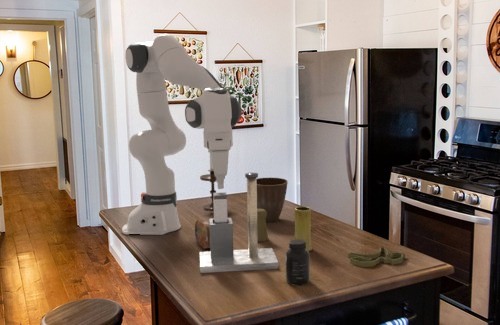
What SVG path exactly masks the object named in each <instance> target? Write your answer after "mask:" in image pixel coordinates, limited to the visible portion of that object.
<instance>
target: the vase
mask: <svg viewBox="0 0 500 325" xmlns="http://www.w3.org/2000/svg"><path fill="white" fill-rule="evenodd" d="M311 214H312V213H311V207H309V206H296V207H295V208H294V238H293V240H294V239H301V240H304V241H306V250H307V251H308V252H310V251H312V250H313V247H312V233H311V232H312V231H311V223H312V222H311V221H312V220H311V218H312V217H311V216H312V215H311Z"/></svg>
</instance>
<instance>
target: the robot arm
mask: <svg viewBox="0 0 500 325" xmlns="http://www.w3.org/2000/svg"><path fill="white" fill-rule="evenodd" d="M124 56H125V58H124V59H125V62H126V66H127V69H129V70H130V72H132V73H136V77H135V79H136V80H135V81H136V82H135V84H136V95H137V103H138V111H139V114H140V116H141V117H142V118H143V119H146V121H147V122H148V124H149V126H150V129H145V130H142V131H139V132H137V133H135V134H132V135H131V137H130V139H129V143H128V150H129V153H130V154H131V155H132V157H133V158H134V159H135V160H137V161H138V162H139V163H140V165H141V168H142V170H143V172H144V173H143V174H144V179H145V192H144V191H143V192H141V193H140V197H141V198H140V201H141V202H140V204H139V205H138V206H136V207H135V208H134V209H132V211H131V212H130V213H129V215H128V219H127V223H125V224H124V225H123V226H122V227H121V228H122V229H121V233H122V234H124V235H129V234H140V235H141V236H142V235H144V236H145V235H147V236H149V235H150V236H151V235H152V236H153V235H154V236H155V235H157V236H159V235H160V236H162V235H166V234H168V233H172V232H175V231H177V230H179V229H181V226H182V225H181V223H180V222H181V221H180V220H179V216H178V215H179V214H178V209H177V205H178V195H177V192H176V185H175V184H176V181H175V180H176V179H175V173H174V171H173V169H171V168H170V167H168V165H167V164H166V161H165V160H166V159H165V157H167V156H174V155H176V154H178V153H179V152H181V151H183V150H184V149H185V148H186V145H187V137H186V134H185V133H184V131H183V130H182V129H181V128H179V127H178V125H177V124H176V122H175V121H174V119H173V116H172V113H171V111H170V105H169V100H168V93H167V86H166V81H168V82H169V83H170V84H173V85H177V86H183V87H190V88H194V89H198V90H199V91H202V93H201V95H199V96H198V97H196V98H194V99H191V100H190V101H188V103H186V106H185V109H184V117H185V122H186V123H187V124H188V125H189V126H190V127H191V128H193V129H196V130H197V129H202V130H203V132H202V133H203V147H204V148H205V149H207V150H208V153H209V154H210V153H211V157H212V165H213V169H214V174H215V176H216V182H215V183H217V189H218V190H223V189H224V187H225V186H224V183H225V179H224V176H225V177H226V176H227V174H228V168H229V153H230V152H229V151H230V150H231V148H232V147H233V145H234V144H233V143H234V142H233V129H232V128H233V127H235V126H236V125H237V124H238V123H239V121H240V119H241V117H242V114H243V113H242V112H243V111H242V106H241V104H240V102H239V101H238V99H237V98H236V97H234V96H233V95H231V94H230V92H229V91H228V90H227V89H225V87H223V85H222V84H221V83H220V82H219V81H218V79H216V77H215V76H214V75H213V74H212V72H210V71H209V69H207V68H206V67H204V66H202V65H201V64H199V63H198V62H197V61H195V60H194V59H193V57H192V56H190V54H189V53H188V52H187V50H186V49H185V47H184V46H183V44H182V43H181V42H180V41H179V40H178V39H177V38H176V37H174V36H173V35H171V34H168V33H164V34H160V35H158V36H157V37H155V38H154V39H153V41H145V42H135V43H132V44H129V45H128V46H127V48H126V50H125V55H124ZM140 235H139V236H140Z"/></svg>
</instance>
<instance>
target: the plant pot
mask: <svg viewBox="0 0 500 325" xmlns="http://www.w3.org/2000/svg"><path fill="white" fill-rule="evenodd" d="M288 182H289V181H288V180H287V179H285V178H281V177H259V178H258V177H257V209H264V210H266V212H267V216H266V218H265V220H266V222H267V223H273V222H277V221H279V219H280V216H281V214H282V210H283V207H284V204H285V199H286V194H287V189H288Z"/></svg>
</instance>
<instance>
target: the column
mask: <svg viewBox="0 0 500 325" xmlns="http://www.w3.org/2000/svg"><path fill="white" fill-rule="evenodd" d="M213 199H214V211H213V219H214V224H218V223H228V220H227V218H228V195H227V192H226V191H223V192H216V193H213Z"/></svg>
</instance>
